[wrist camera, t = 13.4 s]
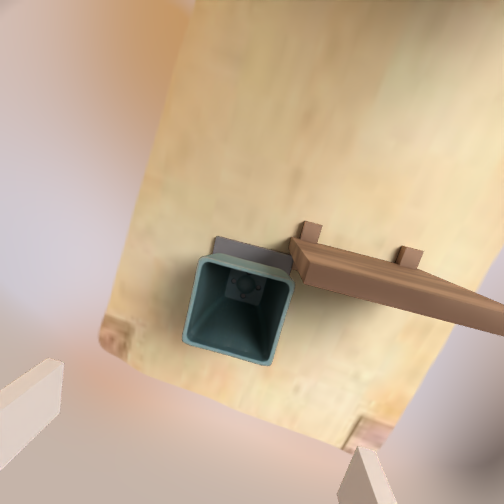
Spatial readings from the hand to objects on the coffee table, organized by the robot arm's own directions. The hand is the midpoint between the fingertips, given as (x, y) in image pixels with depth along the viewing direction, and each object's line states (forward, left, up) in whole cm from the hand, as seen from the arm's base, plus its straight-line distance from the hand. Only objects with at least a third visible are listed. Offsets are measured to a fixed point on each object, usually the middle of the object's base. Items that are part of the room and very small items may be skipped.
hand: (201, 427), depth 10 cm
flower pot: (0, 0, -20) cm, 20 cm away
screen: (-6, +12, -21) cm, 25 cm away
